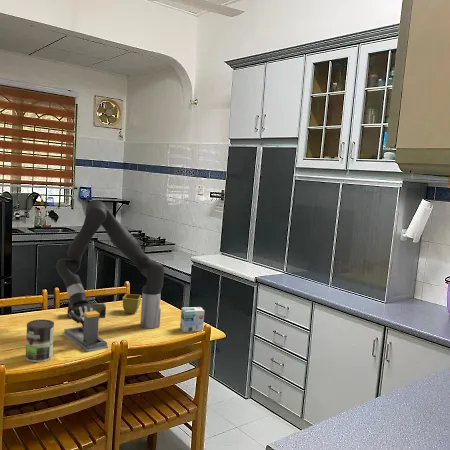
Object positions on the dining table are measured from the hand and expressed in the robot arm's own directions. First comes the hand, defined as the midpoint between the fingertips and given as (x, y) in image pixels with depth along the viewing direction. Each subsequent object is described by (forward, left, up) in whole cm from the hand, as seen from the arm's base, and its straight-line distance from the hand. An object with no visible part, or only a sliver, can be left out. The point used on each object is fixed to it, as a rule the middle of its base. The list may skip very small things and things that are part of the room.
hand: (87, 329), depth 203 cm
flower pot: (-27, -41, -6) cm, 50 cm away
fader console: (+1, -3, -6) cm, 7 cm away
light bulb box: (-52, -10, -7) cm, 53 cm away
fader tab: (-1, +2, -5) cm, 6 cm away
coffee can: (+20, +12, -6) cm, 24 cm away
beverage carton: (-4, -38, -7) cm, 39 cm away
